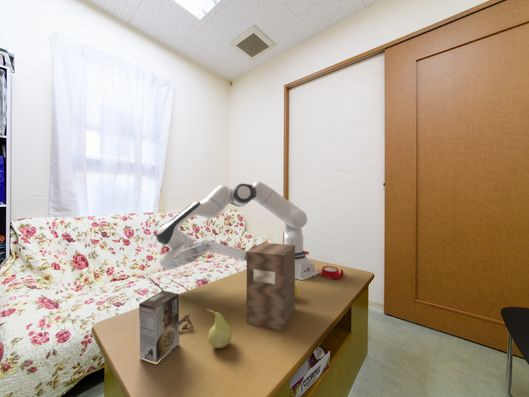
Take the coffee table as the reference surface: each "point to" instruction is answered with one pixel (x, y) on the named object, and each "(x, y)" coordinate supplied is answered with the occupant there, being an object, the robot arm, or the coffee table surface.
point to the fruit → (219, 332)
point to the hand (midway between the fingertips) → (209, 244)
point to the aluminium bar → (225, 250)
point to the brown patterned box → (270, 285)
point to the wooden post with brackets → (185, 320)
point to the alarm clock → (331, 272)
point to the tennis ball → (296, 291)
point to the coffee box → (159, 325)
